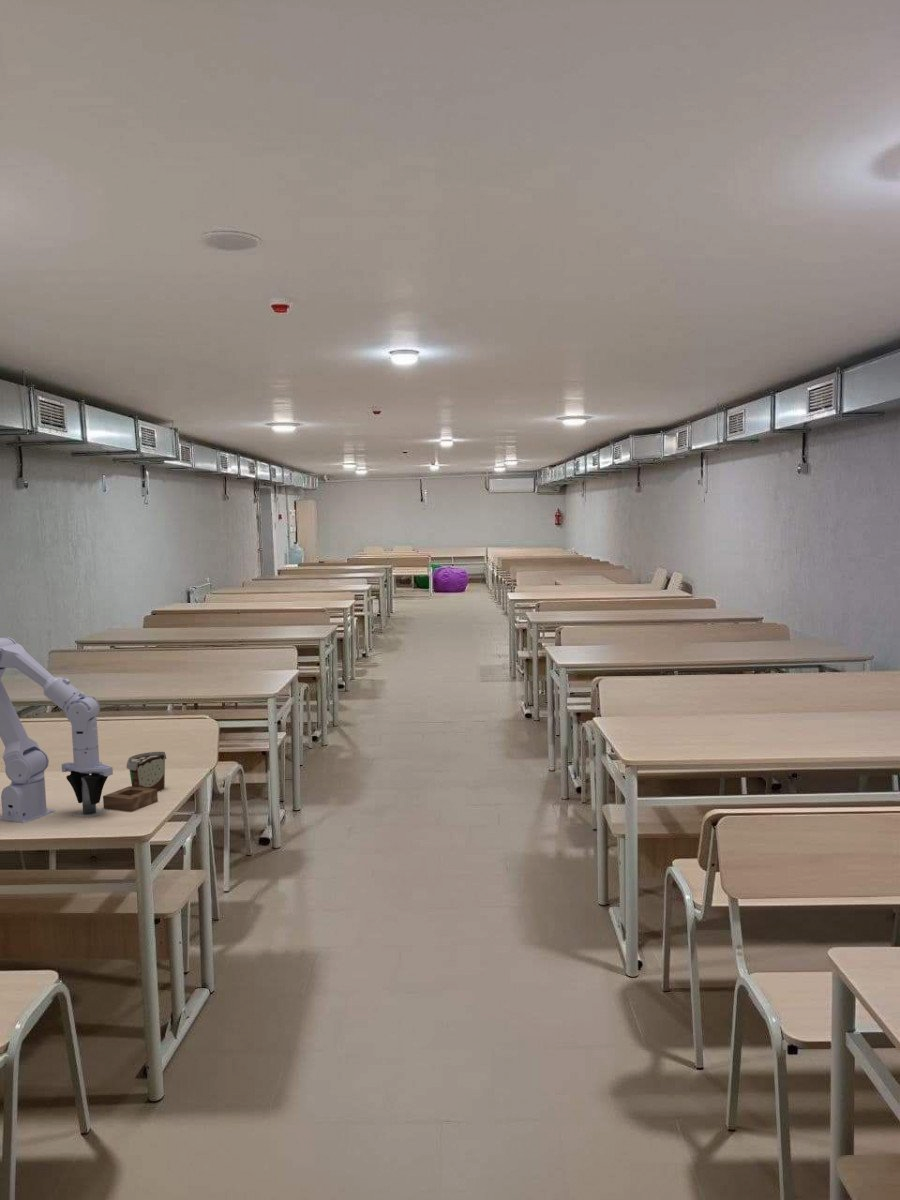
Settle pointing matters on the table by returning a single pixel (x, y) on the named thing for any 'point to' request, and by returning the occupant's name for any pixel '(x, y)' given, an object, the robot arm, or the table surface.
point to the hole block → (130, 798)
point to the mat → (98, 811)
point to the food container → (148, 770)
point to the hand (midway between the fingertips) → (89, 802)
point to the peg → (86, 798)
